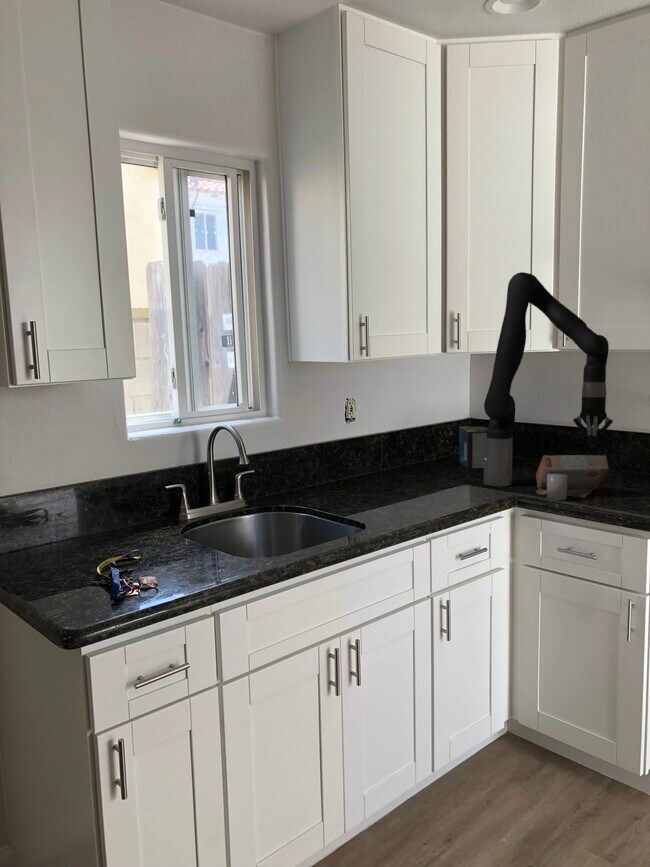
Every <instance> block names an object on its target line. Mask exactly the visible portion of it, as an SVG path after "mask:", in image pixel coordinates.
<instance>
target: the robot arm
mask: <svg viewBox="0 0 650 867" xmlns="http://www.w3.org/2000/svg"><path fill="white" fill-rule="evenodd" d="M506 290H507V291H506V292H507V293H506V302H505V303H506V304H505V311H504V316H503V319H502V324H501V328H500V334H499V337H498V341H497V348H496V351H495V359H494V364H493V369H492V374H491V375H492V376H491V379H490V384H489V387H488V391H487V393H486V396H485V400H484V402H483V408H484V411H485V412H484V413H485V414H486V415H487V417H488V418H489V422H488V427H486V428H487V431H486V458H484V468H483V485H486V486H490V487H508V486H512V484H513V483H512V482H513V481H512V480H513V478H512V477H513V441H514V440H513V438H514V437H513V436H514V434H513V433H514V430H515V421H516V402H515V399H514V397H513V396H512V395H511V388H512V384H513V381H514V378H515V376H516V374H517V372H518V370H519V367H520V365H521V363H522V360H523V358H524V357H523V356H524V353H525V348H526V343H527V325H526V324H527V323H526V322H527V321H526V320H527V311H528V307H529V304H531V305H532V306H534V307H535V308H537V309H538V310H539V311H541V313H543V314H544V316H546V318H547V319H548V320H549V322H551V324H553V325H554V326H555V328H557V329H558V330H559V331H560V332H561V333H563V334H564V335H565V336H566V337H568V338H569V339H570V340H571V341H572V342H574V344H575V345H576V346H577V347H578V348H579V349H580V350H581V351H582V352H583V353H584V354H586V364H585V365H584V367H583V375H582V377H583V378H582V388H581V410H580V413H579V416H576V417H574V418H573V420H572V421H573V423H574V424H575V425H576V426H577V428H578V430H580V432H581V433H582V434H584V435H586V437H587V442H586V443H587V445H588V448H595V447H596V446H597V444H598V436H599V435H600V436H601V435H602V434H604V433H605V432H606V431H607V429H608V428H610V426H611V425H612V424H613V423H614V420H613V419H611V418H609V416H608V414H607V412H606V408H607V407H606V406H607V405H606V403H607V382H606V381H607V363H608V356H609V348H610V346H609V340H608V339H607V338H606V337H605V336H604V335H602V334H597V333H596V332H595V331H593V330H592V329H591V328H590V327H589V326H588V325H587V323H586V322H585V321H584V320H583V319H581V318H580V317H579V316H578V315H577V314H576V313H574V312H573V311H572V310H570V308H568V307H567V306H565V305H564V304H563V303H561V302H560V301H559V300H558V299H557V298H555V297H554V295H553V294H551V293H550V291H548V289H546V288H545V286H544V285H543V284H542V283H541V281H540V280H539V279H538V278H537V276H535V275H534V274H532V273H529V272H528V273H527V272H523V271H522V272H521V271H520V272H517V273H515V274H514V275H513V276H512V277H511V278H510V279H509V281H508V284H507V289H506ZM603 421H604V425H603V426H602V427H601V428H600V425H601V424H602V423H603ZM582 422H583V423H584V424H585V425H586V427H585V426H584V424H583V423H582ZM599 428H600V429H599Z"/></svg>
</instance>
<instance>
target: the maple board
mask: <svg viewBox="0 0 650 867" xmlns="http://www.w3.org/2000/svg"><path fill="white" fill-rule="evenodd" d="M596 489H597V488H567V496H573V497H572V498H575V497H581V498H580V499H586V498H587V497H588V496H590V495H591V494H592V493H593V492H594V491H595V490H596ZM593 490H594V491H593ZM592 491H593V492H592ZM536 493H537V495H545V494H547V488H537V490H535V494H536ZM587 495H588V496H587ZM586 496H587V497H586ZM585 497H586V498H585Z"/></svg>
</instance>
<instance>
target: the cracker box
mask: <svg viewBox="0 0 650 867" xmlns="http://www.w3.org/2000/svg"><path fill="white" fill-rule="evenodd" d="M609 471H610V468H609V463H608V458H607V454H605V455H604V454H601V455H600V454H598V455H597V454H596V455H595V454H593V455H592V454H589V455H588V454H586V455H585V454H584V455H582V454H576V455H573V454H572V455H571V454H570V455H569V454H565V455H564V454H562V455H561V454H560V455H557V454H555V455H550V454H548V455H546V454H545V455H543V456H542V458H541V461H540V463H539V466H538V468H537V471H536V473H535V477H536V483H537V484H536V486H537V489H540V488H547V474H548V473H564V474H567V475H568V481H567V488H596V489H599V488H600V486H601V484H602V482H604V479H605V477H606V476H607V474H608V472H609Z"/></svg>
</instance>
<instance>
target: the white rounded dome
mask: <svg viewBox="0 0 650 867" xmlns="http://www.w3.org/2000/svg"><path fill="white" fill-rule="evenodd" d="M567 481H568V475H567V474H564V473H548V474H547V495H546V499H547V500H550V501H558V500H563V501H566V499H567V500H568V497H567Z"/></svg>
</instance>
